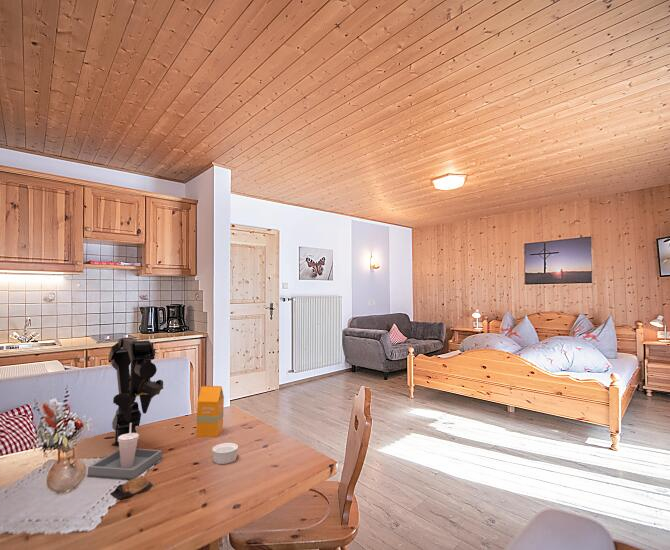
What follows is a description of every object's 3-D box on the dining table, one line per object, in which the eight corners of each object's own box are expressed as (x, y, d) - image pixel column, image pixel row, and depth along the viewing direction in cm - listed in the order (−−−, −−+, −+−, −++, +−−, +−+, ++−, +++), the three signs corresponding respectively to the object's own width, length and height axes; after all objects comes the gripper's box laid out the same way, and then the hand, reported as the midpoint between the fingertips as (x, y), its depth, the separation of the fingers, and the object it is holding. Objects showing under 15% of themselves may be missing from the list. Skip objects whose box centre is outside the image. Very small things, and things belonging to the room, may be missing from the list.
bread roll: (141, 481, 115) (142, 469, 116) (158, 488, 111) (158, 475, 112) (106, 496, 106) (107, 482, 107) (123, 504, 102) (123, 490, 102)
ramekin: (207, 459, 130) (207, 447, 131) (229, 452, 137) (229, 440, 137) (220, 467, 124) (220, 454, 125) (242, 459, 131) (242, 447, 131)
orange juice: (216, 437, 151) (218, 388, 153) (195, 437, 151) (197, 388, 153) (222, 430, 159) (224, 384, 161) (202, 430, 159) (204, 383, 161)
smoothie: (127, 470, 120) (130, 426, 121) (111, 468, 121) (113, 425, 122) (142, 462, 126) (144, 420, 127) (126, 460, 127) (128, 419, 128)
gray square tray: (87, 476, 117) (88, 466, 117) (121, 456, 132) (122, 447, 132) (132, 480, 115) (132, 470, 115) (161, 459, 130) (162, 450, 130)
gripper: (142, 380, 127) (140, 426, 125) (172, 370, 145) (171, 410, 144) (113, 379, 128) (110, 425, 127) (147, 369, 146) (144, 409, 145)
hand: (136, 417), depth 136 cm, fingers open, 9 cm apart
